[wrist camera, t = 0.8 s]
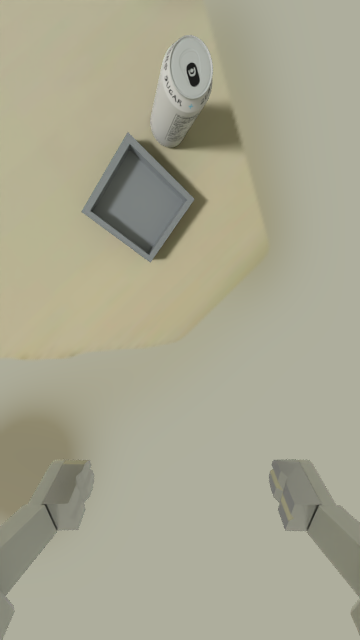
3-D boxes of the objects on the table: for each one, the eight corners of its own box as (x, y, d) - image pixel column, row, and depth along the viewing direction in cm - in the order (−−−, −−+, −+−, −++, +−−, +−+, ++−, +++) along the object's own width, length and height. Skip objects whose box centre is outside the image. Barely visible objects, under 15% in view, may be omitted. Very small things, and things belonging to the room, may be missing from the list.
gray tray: (85, 212, 38) (81, 211, 35) (127, 140, 35) (127, 132, 32) (148, 259, 44) (150, 262, 41) (189, 201, 41) (194, 198, 38)
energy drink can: (175, 96, 34) (207, 14, 21) (189, 140, 37) (224, 92, 24) (143, 113, 34) (153, 40, 21) (159, 155, 37) (178, 115, 24)
